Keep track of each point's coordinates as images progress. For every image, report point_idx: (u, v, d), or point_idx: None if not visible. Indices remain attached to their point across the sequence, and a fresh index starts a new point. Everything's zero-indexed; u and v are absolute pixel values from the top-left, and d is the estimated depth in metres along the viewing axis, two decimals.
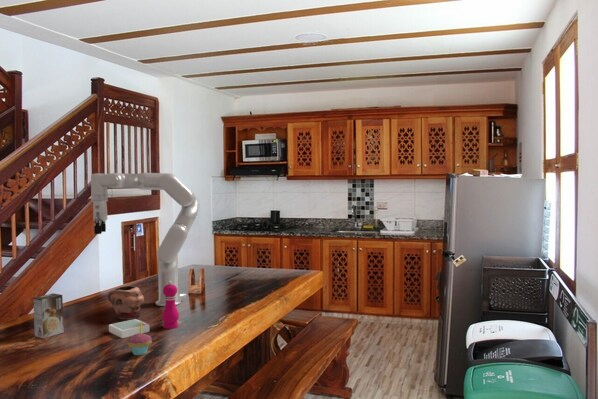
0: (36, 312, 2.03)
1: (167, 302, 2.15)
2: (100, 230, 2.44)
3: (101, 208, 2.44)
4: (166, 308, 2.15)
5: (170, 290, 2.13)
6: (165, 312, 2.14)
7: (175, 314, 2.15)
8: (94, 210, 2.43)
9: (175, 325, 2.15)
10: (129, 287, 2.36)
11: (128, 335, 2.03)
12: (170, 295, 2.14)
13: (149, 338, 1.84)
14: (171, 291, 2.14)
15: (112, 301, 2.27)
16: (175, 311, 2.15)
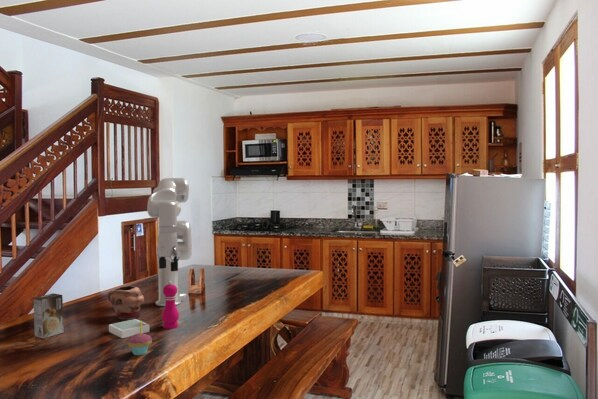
0: (36, 312, 2.03)
1: (167, 302, 2.15)
2: None
3: None
4: (166, 308, 2.15)
5: (170, 290, 2.13)
6: (165, 312, 2.14)
7: (175, 314, 2.15)
8: None
9: (175, 325, 2.15)
10: (129, 287, 2.36)
11: (128, 335, 2.03)
12: (170, 295, 2.14)
13: (149, 338, 1.84)
14: (171, 291, 2.14)
15: (112, 301, 2.27)
16: (175, 311, 2.15)
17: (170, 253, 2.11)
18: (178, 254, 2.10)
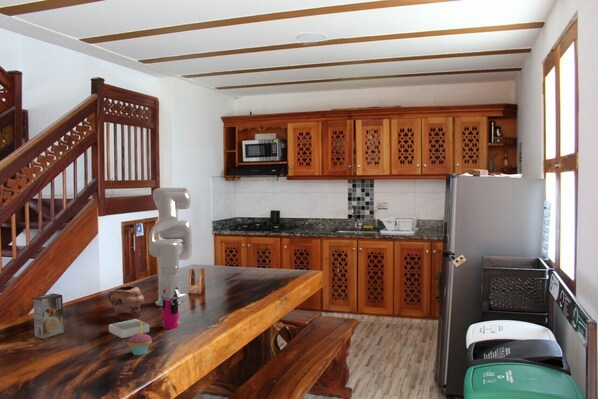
0: (36, 312, 2.03)
1: (167, 302, 2.15)
2: None
3: None
4: (166, 308, 2.15)
5: None
6: (165, 312, 2.14)
7: (175, 314, 2.15)
8: None
9: (175, 325, 2.15)
10: (129, 287, 2.36)
11: (128, 335, 2.03)
12: None
13: (149, 338, 1.84)
14: None
15: (112, 301, 2.27)
16: None
17: (172, 294, 2.11)
18: (179, 299, 2.11)
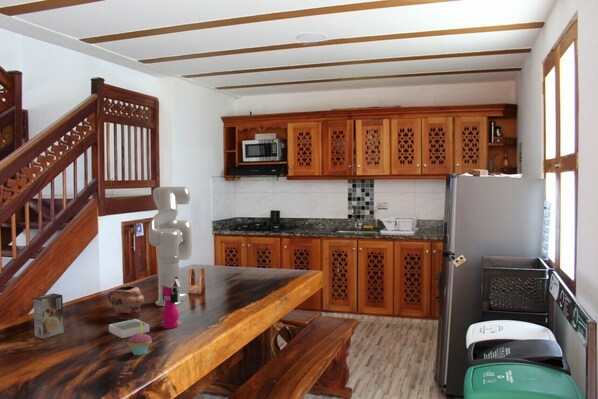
0: (36, 312, 2.03)
1: (167, 302, 2.15)
2: None
3: None
4: (166, 308, 2.15)
5: (169, 290, 2.14)
6: (164, 312, 2.14)
7: (175, 313, 2.15)
8: None
9: (175, 325, 2.15)
10: (129, 287, 2.36)
11: (128, 335, 2.03)
12: (170, 294, 2.14)
13: (149, 338, 1.84)
14: (170, 291, 2.14)
15: (112, 301, 2.27)
16: (175, 310, 2.16)
17: (172, 284, 2.12)
18: (178, 288, 2.12)
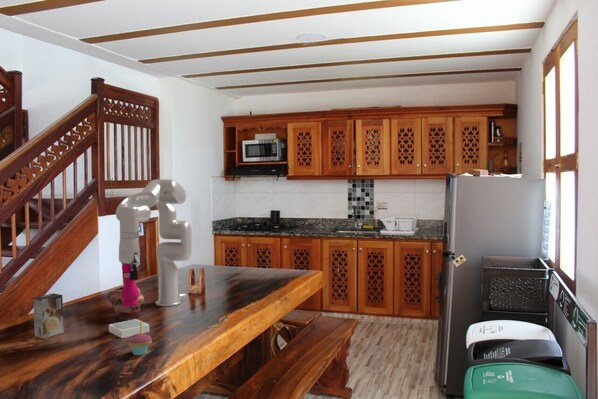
0: (36, 312, 2.03)
1: (126, 279, 2.07)
2: None
3: None
4: (125, 285, 2.07)
5: (128, 266, 2.06)
6: (123, 290, 2.06)
7: (134, 291, 2.07)
8: None
9: (135, 303, 2.07)
10: None
11: (128, 335, 2.03)
12: (129, 272, 2.07)
13: (149, 338, 1.84)
14: (130, 268, 2.06)
15: (112, 301, 2.27)
16: (135, 288, 2.08)
17: (131, 260, 2.04)
18: (138, 264, 2.04)
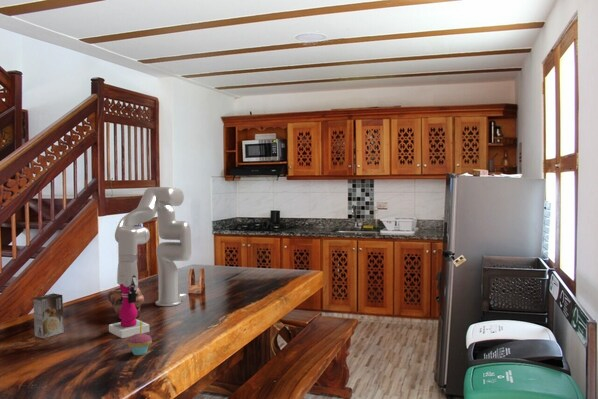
0: (37, 312, 2.03)
1: (124, 299, 2.07)
2: None
3: None
4: (123, 305, 2.07)
5: (126, 287, 2.05)
6: (122, 310, 2.06)
7: (133, 311, 2.07)
8: None
9: (133, 323, 2.07)
10: None
11: (128, 335, 2.03)
12: (127, 292, 2.06)
13: (149, 338, 1.84)
14: (128, 288, 2.06)
15: (112, 301, 2.27)
16: (133, 308, 2.07)
17: (129, 283, 2.04)
18: (136, 287, 2.04)
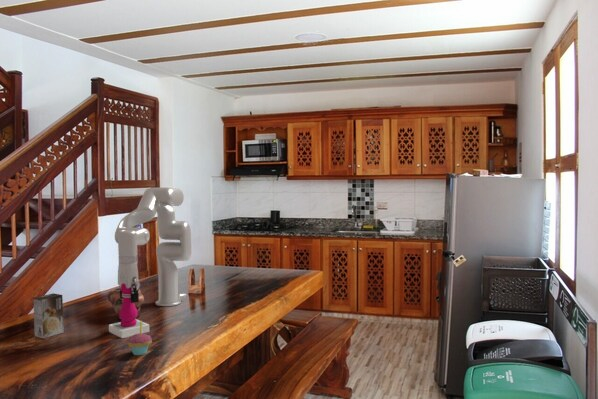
0: (36, 312, 2.03)
1: (125, 299, 2.06)
2: None
3: None
4: (123, 306, 2.06)
5: None
6: (122, 310, 2.06)
7: (133, 312, 2.07)
8: None
9: (133, 323, 2.07)
10: None
11: (128, 335, 2.03)
12: (128, 292, 2.06)
13: (149, 338, 1.84)
14: (128, 288, 2.05)
15: (112, 301, 2.27)
16: (133, 309, 2.07)
17: (130, 284, 2.05)
18: (138, 286, 2.03)
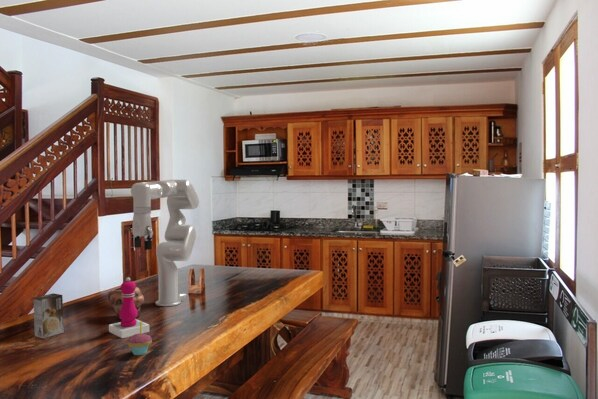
0: (37, 312, 2.03)
1: (124, 299, 2.07)
2: None
3: None
4: (123, 305, 2.07)
5: (127, 287, 2.05)
6: (122, 310, 2.06)
7: (133, 312, 2.07)
8: None
9: (133, 323, 2.07)
10: None
11: (128, 335, 2.03)
12: (128, 292, 2.06)
13: (149, 338, 1.84)
14: (128, 288, 2.05)
15: (112, 301, 2.27)
16: (133, 309, 2.07)
17: (144, 232, 2.23)
18: (151, 233, 2.22)
